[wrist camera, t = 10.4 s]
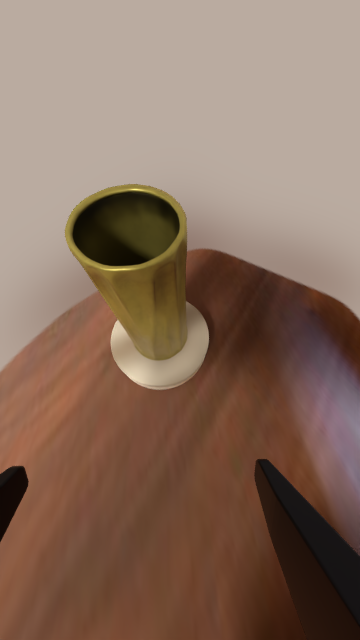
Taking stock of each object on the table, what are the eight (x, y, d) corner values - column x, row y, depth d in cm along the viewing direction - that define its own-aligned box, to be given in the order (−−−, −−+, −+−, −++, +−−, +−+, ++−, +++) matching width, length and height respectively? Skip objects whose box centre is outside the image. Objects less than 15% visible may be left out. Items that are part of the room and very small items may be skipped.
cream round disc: (223, 359, 23) (229, 350, 20) (141, 410, 20) (135, 407, 18) (177, 296, 28) (177, 283, 25) (105, 331, 25) (97, 319, 22)
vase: (169, 372, 19) (145, 308, 6) (121, 343, 21) (19, 241, 8) (197, 324, 22) (221, 202, 9) (151, 300, 23) (113, 163, 10)
